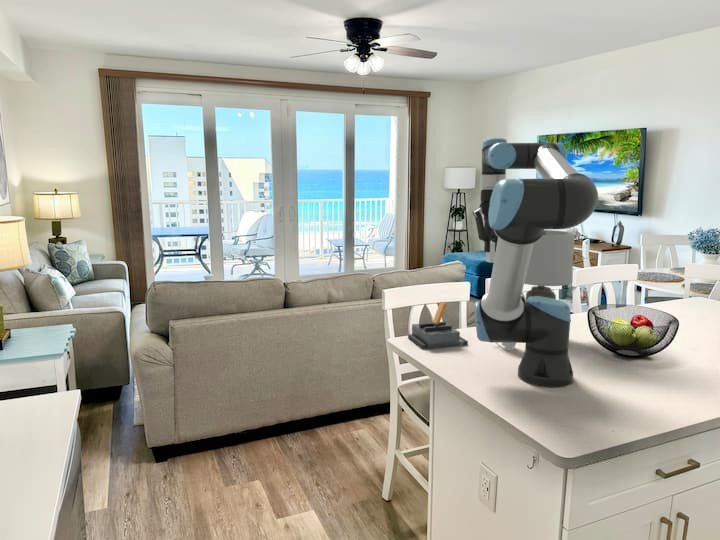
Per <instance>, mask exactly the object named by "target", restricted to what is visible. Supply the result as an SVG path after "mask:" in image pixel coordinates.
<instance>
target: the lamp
mask: <svg viewBox="0 0 720 540" xmlns="http://www.w3.org/2000/svg"><path fill="white" fill-rule="evenodd" d="M575 239H576V233H575V232H572V231H566V230H556V229H544V232H543V235H542V237H541V239H540V240H539V241H537V242H536V243H534V244H533V249H532V253H531V257H530V261H529V265H528V269H527V273H526V278H525V282H524V285H530V286H531V289H530V290H527V291H526V294H525V302H527V299H528V298H529V297H530V296H541V297H547V298H552V299H556V300H557V295H556V294H555V292H553V291H552V288H551V287H560V286H561V287H563V286H568V285H571V284H572V281H573V269H574V267H573V266H574V254H575V253H574V252H575Z"/></svg>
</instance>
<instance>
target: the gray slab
mask: <svg viewBox="0 0 720 540" xmlns="http://www.w3.org/2000/svg"><path fill="white" fill-rule="evenodd" d="M468 343H469V341H468V340H466V339H465V338H463V337H461V336H460V341H459V346H458V347H463V346H468Z"/></svg>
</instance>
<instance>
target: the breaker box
mask: <svg viewBox="0 0 720 540" xmlns="http://www.w3.org/2000/svg"><path fill="white" fill-rule="evenodd" d="M411 334H412V335H413V336H415V337H416V338H417V339H419V340H420V341H422V342H423V343H424V344H426V349H427V350H431V349H442V348H451V347H460V346H459V341H460V337H461V336H460V335H461V332H460V331H459V330H457V329H455V328H454V327H453V325H451V324H447V323H446V321H440V323H439V326H435V325H433V324H432V322H425V323H423V322H422V323H412V324H411Z"/></svg>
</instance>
